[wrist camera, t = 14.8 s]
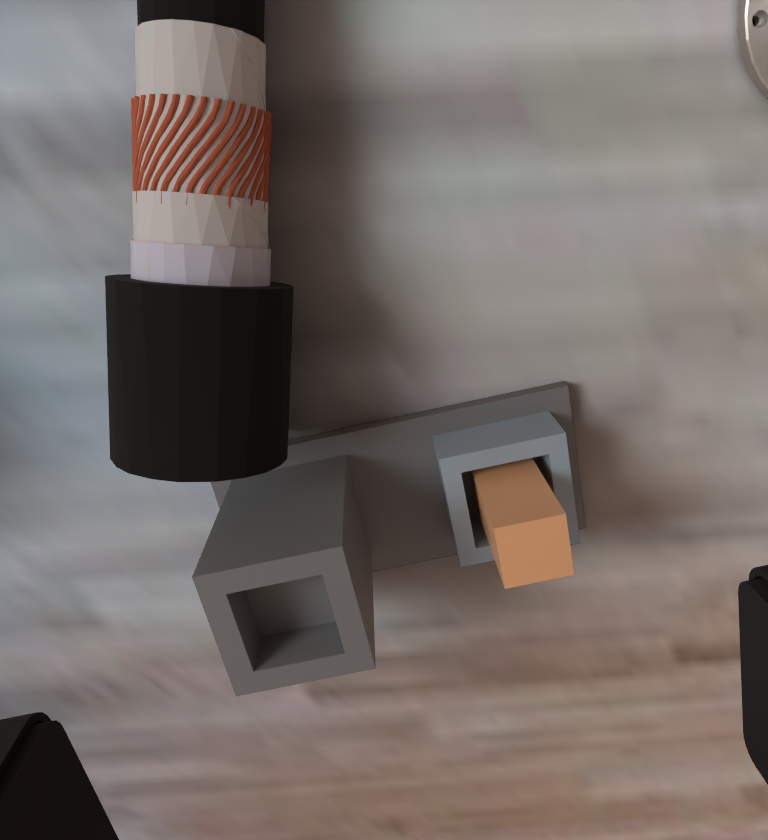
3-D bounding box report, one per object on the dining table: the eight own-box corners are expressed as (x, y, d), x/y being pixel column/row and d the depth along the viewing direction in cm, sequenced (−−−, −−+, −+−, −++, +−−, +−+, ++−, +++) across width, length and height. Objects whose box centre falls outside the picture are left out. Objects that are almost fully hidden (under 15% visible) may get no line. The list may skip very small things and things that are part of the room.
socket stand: (563, 381, 46) (638, 457, 34) (581, 521, 50) (654, 635, 38) (207, 457, 47) (155, 558, 35) (251, 589, 51) (218, 721, 39)
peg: (523, 444, 46) (565, 513, 37) (531, 495, 48) (574, 575, 38) (466, 456, 46) (493, 528, 37) (476, 506, 48) (504, 589, 38)
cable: (266, -145, 39) (345, -248, 30) (255, 426, 47) (314, 471, 39) (74, -216, 34) (104, -362, 25) (98, 437, 42) (127, 491, 34)
